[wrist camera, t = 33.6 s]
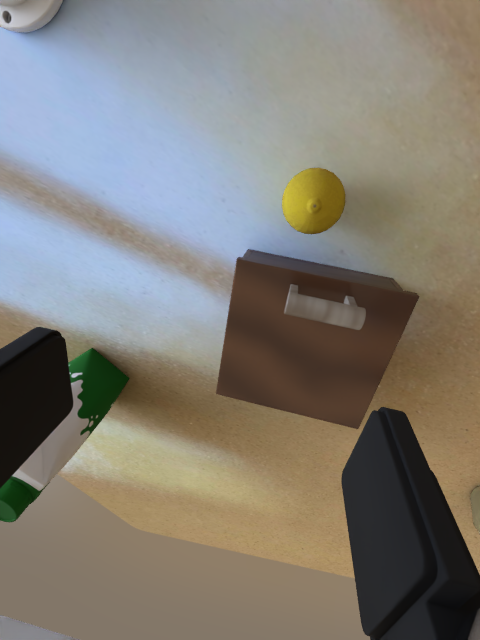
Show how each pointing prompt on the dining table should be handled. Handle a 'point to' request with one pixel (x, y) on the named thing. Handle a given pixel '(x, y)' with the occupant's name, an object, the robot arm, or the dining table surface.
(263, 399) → the lid
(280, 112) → the dining table surface
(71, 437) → the milk carton
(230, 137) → the dining table surface
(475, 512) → the squeeze bottle
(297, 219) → the lemon
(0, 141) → the dining table surface
